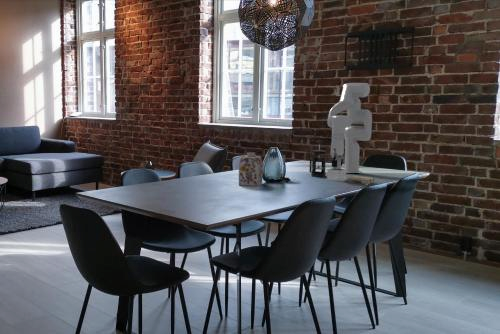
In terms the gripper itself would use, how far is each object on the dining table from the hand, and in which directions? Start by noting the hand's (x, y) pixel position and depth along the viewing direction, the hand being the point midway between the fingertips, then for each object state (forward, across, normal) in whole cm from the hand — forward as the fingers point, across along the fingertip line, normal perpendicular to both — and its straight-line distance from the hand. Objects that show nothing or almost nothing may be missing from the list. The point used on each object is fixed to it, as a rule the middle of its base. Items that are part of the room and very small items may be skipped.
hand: (337, 166), depth 305 cm
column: (+8, 0, 0) cm, 8 cm away
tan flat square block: (+9, 0, +15) cm, 17 cm away
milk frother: (+9, +19, -28) cm, 35 cm away
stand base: (+9, 0, 0) cm, 9 cm away
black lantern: (+9, -6, -15) cm, 19 cm away
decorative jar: (+9, +43, -34) cm, 56 cm away
